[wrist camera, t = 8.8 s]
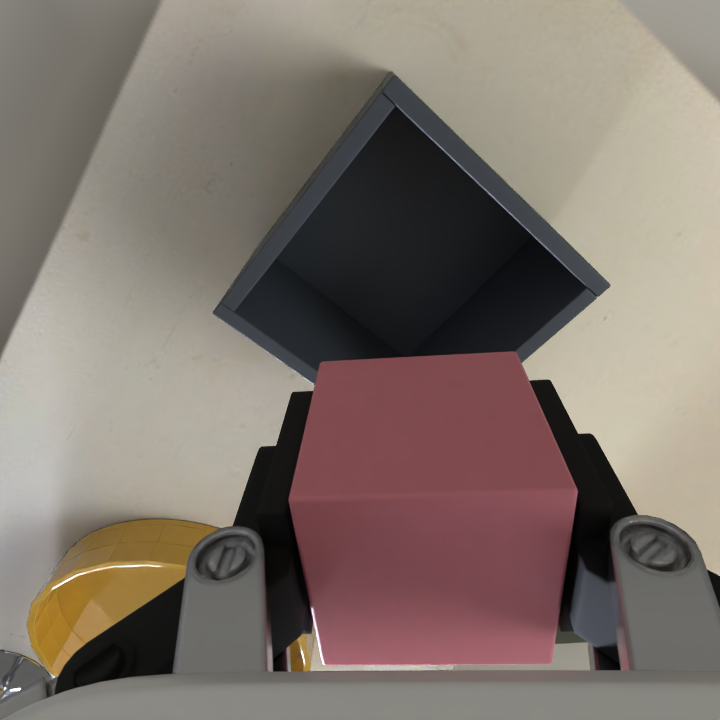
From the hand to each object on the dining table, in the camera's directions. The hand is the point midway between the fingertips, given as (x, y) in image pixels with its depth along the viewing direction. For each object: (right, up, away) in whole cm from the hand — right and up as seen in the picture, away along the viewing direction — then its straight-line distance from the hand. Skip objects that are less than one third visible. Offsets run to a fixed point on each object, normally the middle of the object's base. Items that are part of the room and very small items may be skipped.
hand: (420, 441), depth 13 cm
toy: (0, 0, 0) cm, 0 cm away
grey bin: (0, +8, +13) cm, 15 cm away
